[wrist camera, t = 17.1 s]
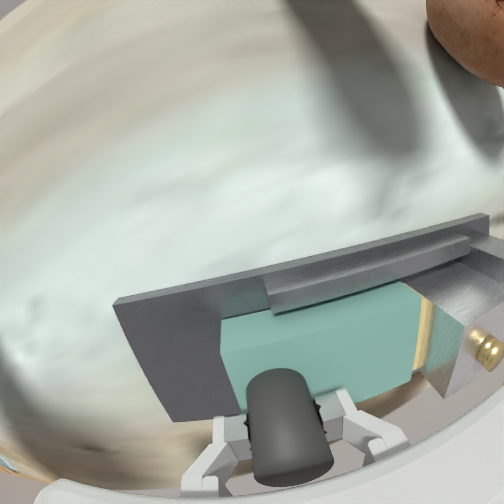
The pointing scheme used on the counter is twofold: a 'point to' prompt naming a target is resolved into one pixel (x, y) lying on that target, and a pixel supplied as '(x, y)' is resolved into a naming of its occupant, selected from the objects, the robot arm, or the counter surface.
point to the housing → (459, 325)
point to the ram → (316, 370)
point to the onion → (471, 34)
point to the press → (277, 305)
